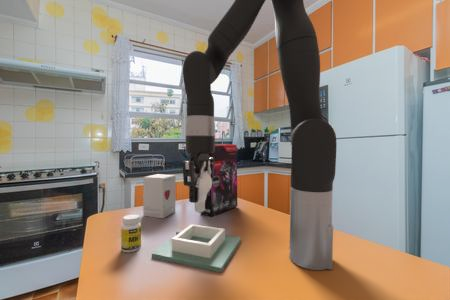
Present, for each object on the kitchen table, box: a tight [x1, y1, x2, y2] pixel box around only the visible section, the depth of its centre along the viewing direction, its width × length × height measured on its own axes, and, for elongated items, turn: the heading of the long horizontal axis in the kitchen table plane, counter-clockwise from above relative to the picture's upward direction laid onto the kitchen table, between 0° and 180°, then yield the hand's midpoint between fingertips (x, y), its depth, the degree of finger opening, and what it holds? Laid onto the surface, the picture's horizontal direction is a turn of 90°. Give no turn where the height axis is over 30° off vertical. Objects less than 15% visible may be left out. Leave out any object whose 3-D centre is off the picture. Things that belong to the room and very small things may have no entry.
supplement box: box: [142, 173, 176, 219], centre depth 85 cm, size 9×9×15 cm
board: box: [151, 223, 242, 273], centre depth 58 cm, size 18×16×4 cm
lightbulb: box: [187, 171, 212, 214], centre depth 57 cm, size 6×6×11 cm
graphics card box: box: [200, 143, 238, 217], centre depth 90 cm, size 17×7×27 cm, turn 141°
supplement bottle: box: [120, 214, 142, 253], centre depth 58 cm, size 5×5×8 cm
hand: (200, 198), depth 57 cm, fingers closed on lightbulb, 6 cm apart
